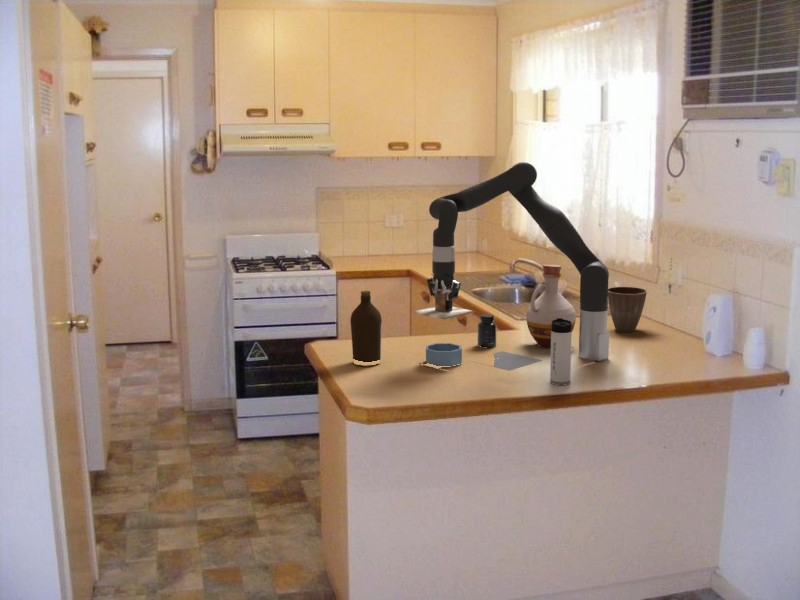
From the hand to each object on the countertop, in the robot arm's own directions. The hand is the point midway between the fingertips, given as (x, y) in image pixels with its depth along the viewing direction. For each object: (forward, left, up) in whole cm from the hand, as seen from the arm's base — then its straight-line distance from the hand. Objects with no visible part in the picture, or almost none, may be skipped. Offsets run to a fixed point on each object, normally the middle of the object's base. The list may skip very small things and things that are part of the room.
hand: (443, 309), depth 303 cm
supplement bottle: (+5, -28, -19) cm, 34 cm away
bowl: (0, 0, -19) cm, 19 cm away
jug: (-10, -45, -19) cm, 50 cm away
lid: (0, 0, -1) cm, 1 cm away
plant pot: (-16, -86, -19) cm, 89 cm away
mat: (-13, -17, -19) cm, 29 cm away
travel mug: (-41, -10, -19) cm, 46 cm away
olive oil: (+20, +17, -19) cm, 33 cm away
